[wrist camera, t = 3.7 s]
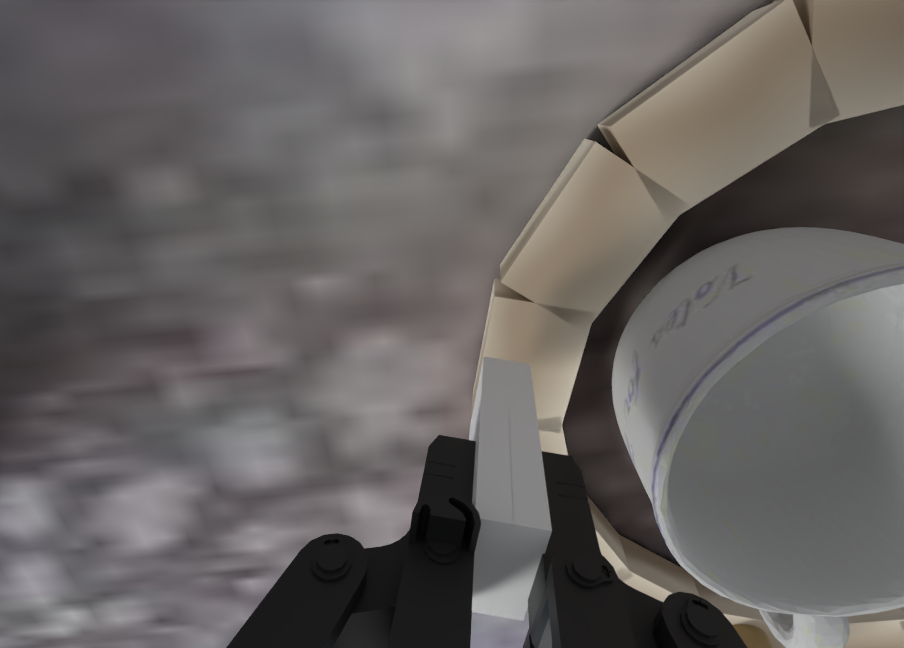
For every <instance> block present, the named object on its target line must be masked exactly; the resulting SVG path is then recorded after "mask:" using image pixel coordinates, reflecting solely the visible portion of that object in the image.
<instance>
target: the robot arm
mask: <svg viewBox="0 0 904 648" xmlns="http://www.w3.org/2000/svg"><path fill="white" fill-rule="evenodd" d="M527 608H528V612H529V630H528V633H527V636H526V639H525V642H524V645H523V648H748V647H747V646H746V644H745V643H744V642H743V640H742V639H741V637H740V636H739V634H738V633H737V631H736V630H735V628H734V627H733V625H732V624H731V623H730V621H729V620H728V619H727V618H726V617H725V616H724V614H723V613H722V612H721V611H720V610H719V609H718V608H716V607H715V606H714V605H712V604H711V603H710V602H708V601H707V600H705V599H703V598H701V597H699V596H697V595H694V594H692V593H685V592H676V593H673V594H670V595H668V597H667V598H666V599H665V601H664V602H662V601H659V600H657V599H655V598H653V597H651V596H649V595H647V594H644V593H642V592H640V591H638V590H636V589H634V588H632V587H631V586H629V585H627V584H625V583H624V582H623V581H622V580H620V579H619V578H618V576H617V574H616V572H615V570H614V567H613V566H612V565H611V564H610V563H609V561H608V560H607V559H606V558H605V557H604V556H603V555H602V554H601V551H600V548H599V543H598V539H597V535H596V531H595V526H594V522H593V518H592V514H591V509H590V505H589V503H588V497H587V492H586V490H585V484H584V480H583V475H582V471H581V470H580V468H579V467H578V466H577V464H576V463H575V461H574V460H573V459H572V457H571V456H568V455H562V454H556V453H550V452H544V451H541V444H540V436H539V429H538V421H537V414H536V406H535V398H534V391H533V383H532V376H531V368H530V364H526V363H520V362H514V361H508V360H502V359H496V358H490V357H484V356H483V362H482V367H481V372H480V377H479V382H478V388H477V393H476V398H475V403H474V409H473V414H472V419H471V424H470V435H469V440H466V439H460V438H454V437H448V436H442V435H439V436H438V437H437V438H436V439H435V440H434V441H433V442H432V443H431V445H430V446H429V448H428V453H427V458H426V464H425V468H424V473H423V478H422V483H421V488H420V493H419V498H418V502H417V504H416V506H415V508H414V510H413V513H412V520H411V527H410V530H409V531H408V533H407V534H406V535H405V536H404V537H402V538H401V539H400V540H398V541H396V542H394V543H392V544H390V545H386V546H381V547H374V548H366V549H364V548H363V546H362V545H361V543H360V542H358V541H357V540H355V539H354V538H352V537H350V536H347V535H342V534H338V533H337V534H328V535H323V536H320V537H318V538H316V539H314V540H312V541H310V542H309V543H308V544H307V545H306V546H305V547H304V548H303V549H301V551H300V552H299V553H298V554H297V556H296V557H295V558H294V560H293V561H292V562H291V564H290V565H289V566H288V568H287V569H286V570H285V572H284V573H283V574H282V575H281V577H280V578H279V579H278V581H277V582H276V583H275V585H274V586H273V587H272V589H271V590H270V591H269V593H268V594H267V595H266V596H265V598H264V599H263V600H262V602H261V603H260V604H259V606H258V607H257V608H256V610H255V611H254V612H253V613H252V615H251V616H250V617H249V619H248V620H247V621H246V623H245V624H244V625H243V627H242V628H241V629H240V631H239V632H238V633H237V634H236V636H235V637H234V638H233V640H232V641H231V642H230V644H229V645H228V646H227V648H470V637H471V616H472V612H475V613H481V614H487V615H492V616H498V617H504V618H509V619H515V620H521V621H523V620H524V617H525V614H526V611H527Z"/></svg>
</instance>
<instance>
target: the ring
mask: <svg viewBox="0 0 904 648" xmlns="http://www.w3.org/2000/svg"><path fill="white" fill-rule="evenodd" d="M901 105H904V0H774V1H773V3H772V4H769V5H767V6H764V7H762V8H759V9H757V10H754V11H752V12H751V13H749V14H748V15H747V16H745V17H744V18H742V19H741V20H740V21H738V22H737V23H736V24H734V25H733V26H732V27H730V28H729V29H727V30H726V31H725V32H723V33H722V34H721V35H719V36H718V37H716V38H715V39H714V40H712V41H711V42H710V43H708V44H707V45H706V46H704V47H703V48H701V49H700V50H699V51H697V52H696V53H695V54H693V55H692V56H690V57H689V58H688V59H686V60H685V61H684V62H682V63H681V64H680V65H678V66H677V67H675V68H674V69H673V70H671V71H670V72H669V73H667V74H666V75H664V76H663V77H662V78H660V79H659V80H658V81H656V82H655V83H654V84H652V85H651V86H649V87H648V88H647V89H645V90H644V91H643V92H641V93H640V94H638V95H637V96H636V97H634V98H633V99H632V100H630V101H629V102H628V103H626V104H625V105H623V106H622V107H621V108H619V109H618V110H617V111H615V112H614V113H613V114H611V115H610V116H608V117H607V118H606V119H604V120H603V121H602V122H600V123H599V124H597V125H598V127H599V129H600V130H601V132H602V134H603V136H604V137H605V139H606V141H607V142H608V144H609V146H610V147H611V149H612V151H613V152H614V154H613V153H612V152H610V151H609V150H607V149H606V148H604V147H603V146H601V145H600V144H598V143H597V142H595V141H591V140H588V139H585V138H584V140H583V141H582V143H581V144H580V146H579V147H578V149H577V150H576V152H575V153H574V155H573V156H572V158H571V159H570V161H569V162H568V164H567V165H566V167H565V168H564V170H563V171H562V173H561V174H560V176H559V177H558V178H557V180H556V181H555V183H554V184H553V186H552V187H551V189H550V190H549V192H548V193H547V195H546V196H545V198H544V199H543V201H542V202H541V204H540V205H539V207H538V208H537V210H536V211H535V213H534V214H533V216H532V217H531V219H530V220H529V222H528V223H527V225H526V226H525V228H524V229H523V231H522V232H521V234H520V235H519V237H518V238H517V240H516V241H515V243H514V244H513V246H512V247H511V249H510V250H509V252H508V253H507V255H506V256H505V258H504V259H503V261H502V262H501V264H500V279H499V278H494V283H493V289H492V294H491V299H490V305H489V310H488V315H487V321H486V326H485V331H484V336H483V342H482V347H481V352H480V358H479V363H478V368H477V374H476V379H475V384H474V390H473V400H472V413H471V419H472V414H473V409H474V403H475V398H476V393H477V388H478V382H479V377H480V372H481V367H482V362H483V356H484V357H490V358H496V359H502V360H508V361H514V362H520V363H526V364H530V368H531V376H532V383H533V391H534V398H535V406H536V414H537V421H538V429H539V436H540V444H541V451H544V452H550V453H556V454H562V455H568V453H567V448H566V443H565V438H564V433H563V428H562V423H563V420H564V416H565V413H566V409H567V406H568V403H569V399H570V396H571V392H572V389H573V386H574V382H575V379H576V375H577V372H578V368H579V365H580V362H581V358H582V355H583V351H584V348H585V345H586V341H587V338H588V334H589V331H590V327H591V324H592V322H593V321H594V320H595V319H596V317H597V316H598V315H599V314H600V312H601V311H602V310H603V309H604V308H605V306H606V305H607V304H608V303H609V301H610V300H611V299H612V298H613V296H614V295H615V294H616V293H617V292H618V290H619V289H620V288H621V287H622V285H623V284H624V283H625V282H626V280H627V279H628V278H629V277H630V275H631V274H632V273H633V272H634V271H635V269H636V268H637V267H638V266H639V264H640V263H641V262H642V261H643V259H644V258H645V257H646V256H647V255H648V253H649V252H650V251H651V250H652V248H653V247H654V246H655V245H656V243H657V242H658V241H659V240H660V238H661V237H662V236H663V235H664V234H665V232H666V231H667V230H668V229H669V227H670V226H671V225H672V224H673V222H674V221H675V220H676V219H677V217H678V216H679V215H680V214H682V213H684V212H685V211H687V210H688V209H690V208H692V207H693V206H695V205H696V204H698V203H700V202H701V201H703V200H704V199H706V198H708V197H709V196H711V195H712V194H714V193H716V192H717V191H719V190H720V189H722V188H724V187H725V186H727V185H728V184H730V183H732V182H733V181H735V180H736V179H738V178H740V177H741V176H743V175H744V174H746V173H747V172H749V171H751V170H752V169H754V168H755V167H757V166H759V165H760V164H762V163H763V162H765V161H767V160H768V159H770V158H771V157H773V156H775V155H776V154H778V153H779V152H781V151H783V150H784V149H786V148H787V147H789V146H791V145H792V144H794V143H795V142H797V141H799V140H800V139H802V138H803V137H805V136H807V135H808V134H810V133H811V132H813V131H815V130H816V129H818V128H819V127H821V126H823V125H824V124H827V123H831V122H835V121H840V120H844V119H848V118H852V117H856V116H860V115H864V114H868V113H872V112H876V111H881V110H885V109H889V108H893V107H897V106H901ZM587 497H588V495H587ZM588 503H589V505H590V509H591V514H592V518H593V522H594V526H595V531H596V535H597V539H598V543H599V548H600V551H601V554H602V555H603V556H604V557H605V558H606V559H607V560H608V561H609V563H610V564H611V565H612V566H613V567H614V570H615V572H616V574H617V576H618V578H619V579H620V580H622V581H623V582H624V583H625V584H627V585H629V586H631V587H632V588H634V589H636V590H638V591H640V592H642V593H644V594H647V595H649V596H651V597H653V598H655V599H657V600H659V601H662V602H664V601H665V599H666V598H667V597H668V595H670V594H673V593H676V592H685V593H692V594H694V595H697V596H699V597H701V598H703V599H705V600H707V601H708V602H710V603H711V604H712V605H714V606H715V607H716V608H718V609H719V610H720V611H721V612H722V613H723V614H724V616H725V617H726V618H727V619H728V620H729V621H730V623H731V624H732V625H733V627H734V628H735V630H736V631H737V633H738V634H739V636H740V637H741V639H742V640H743V642H744V643H745V644H746V646H747V647H748V648H786V647H785V646H784V645H783V644H782V643H781V642H780V641H779V640H778V639H777V638H775V636H774V635H773V633H772V632H771V630H770V629H769V627H768V626H767V624H766V623H765V621H764V619H763V617H762V615H761V613H760V611H759V609H756V608H753V607H749V606H746V605H743V604H740V603H737V602H735V601H733V600H731V599H729V598H726V597H722V596H720V595H719V594H717V593H715V592H714V591H712V590H710V589H709V588H707V587H706V586H704V585H702V584H701V583H700V582H699V581H698V580H697V579H695V578H694V577H693V576H692V575H691V574H690V573H688V572H687V571H686V570H685V569H683V568H681V567H679V566H677V565H675V564H673V563H672V562H670V561H668V560H666V559H664V558H662V557H660V556H658V555H657V554H655V553H653V552H651V551H649V550H647V549H645V548H643V547H641V546H640V545H638V544H636V543H634V542H632V541H630V540H628V539H626V538H624V537H623V536H621V535H619V534H618V533H617V532H616V530H615V529H614V528H613V527H612V525H611V524H610V523H609V522H608V520H607V519H606V518H605V517H604V515H603V514H602V513H601V512H600V510H599V509H598V508H597V507H596V505H595V504H594V503H593V502H592V500H591V499H590V498H589V497H588ZM848 618H849V628H850V633H849V638H848V642H847V644H846V645H845V647H844V648H904V607H901V608H897V609H892V610H888V611H883V612H878V613H871V614H863V615H855V616H848Z"/></svg>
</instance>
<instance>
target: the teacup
mask: <svg viewBox="0 0 904 648" xmlns="http://www.w3.org/2000/svg"><path fill="white" fill-rule="evenodd" d="M612 396H613V405H614V409H615V414H616V418H617V422H618V425H619V428H620V431H621V434H622V437H623V439H624V442H625V444H626V447H627V450H628V452H629V454H630V457H631V459H632V462H633V464H634V466H635V468H636V470H637V473H638V475H639V477H640V479H641V481H642V484H643V486H644V488H645V490H646V492H647V494H648V496H649V498H650V500H651V502H652V505H653V510H654V515H655V519H656V522H657V524H658V527H659V529H660V532H661V534H662V536H663V538H664V540H665V542H666V545H667V546H668V548H669V550H670V552H671V553H672V555H673V556H674V558H675V559H676V560H677V562H678V563H679V564H680V565H681V566H682V567H683V568H684V569H685V570H686V571H687V572H688V573H690V574H691V575H692V576H693V577H694V578H695V579H697V580H698V581H699V582H700V583H701V584H702V585H704V586H706V587H707V588H709V589H710V590H712V591H714V592H715V593H717V594H719V595H720V596H722V597H726V598H729V599H731V600H733V601H735V602H737V603H740V604H743V605H746V606H749V607H753V608H756V609H759V611H760V613H761V615H762V617H763V619H764V621H765V623H766V624H767V626H768V627H769V629H770V630H771V632H772V633H773V635H774V636H775V638H777V639H778V640H779V641H780V642H781V643H782V644H783V645H784V646H785V647H786V648H844V647H845V645H846V644H847V642H848V638H849V633H850V628H849V618H848V616H855V615H863V614H871V613H878V612H883V611H888V610H892V609H897V608H901V607H904V244H902V243H898V242H894V241H890V240H886V239H882V238H878V237H874V236H869V235H864V234H860V233H855V232H850V231H843V230H836V229H828V228H817V227H789V228H777V229H769V230H762V231H757V232H752V233H748V234H745V235H741V236H737V237H734V238H732V239H729V240H726V241H724V242H721V243H718V244H715V245H713V246H711V247H709V248H707V249H705V250H703V251H701V252H699V253H697V254H696V255H694V256H693V257H691V258H689V259H688V260H686V261H685V262H683V263H682V264H680V265H679V266H677V267H676V268H674V269H673V270H672V271H671V272H669V273H668V274H667V275H666V276H665V277H663V278H662V279H661V280H660V281H659V282H658V283H657V284H656V285H655V286H654V287H653V288H652V289H651V290H650V291H649V293H648V294H647V295H646V296H645V297H644V299H643V300H642V301H641V302H640V304H639V305H638V307H637V308H636V310H635V311H634V312H633V314H632V316H631V317H630V319H629V321H628V323H627V325H626V327H625V329H624V331H623V333H622V336H621V338H620V340H619V344H618V347H617V350H616V354H615V359H614V363H613V373H612Z"/></svg>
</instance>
